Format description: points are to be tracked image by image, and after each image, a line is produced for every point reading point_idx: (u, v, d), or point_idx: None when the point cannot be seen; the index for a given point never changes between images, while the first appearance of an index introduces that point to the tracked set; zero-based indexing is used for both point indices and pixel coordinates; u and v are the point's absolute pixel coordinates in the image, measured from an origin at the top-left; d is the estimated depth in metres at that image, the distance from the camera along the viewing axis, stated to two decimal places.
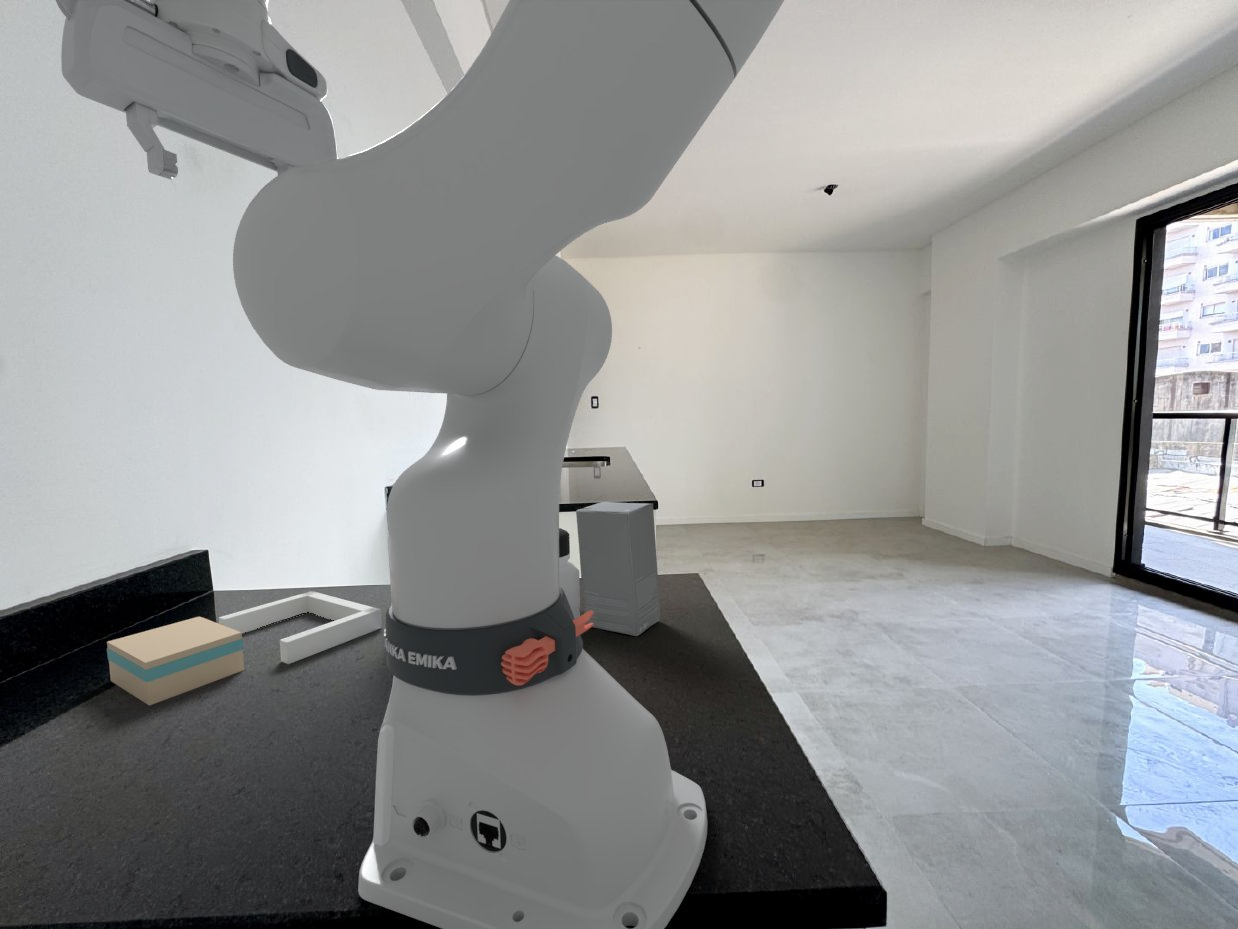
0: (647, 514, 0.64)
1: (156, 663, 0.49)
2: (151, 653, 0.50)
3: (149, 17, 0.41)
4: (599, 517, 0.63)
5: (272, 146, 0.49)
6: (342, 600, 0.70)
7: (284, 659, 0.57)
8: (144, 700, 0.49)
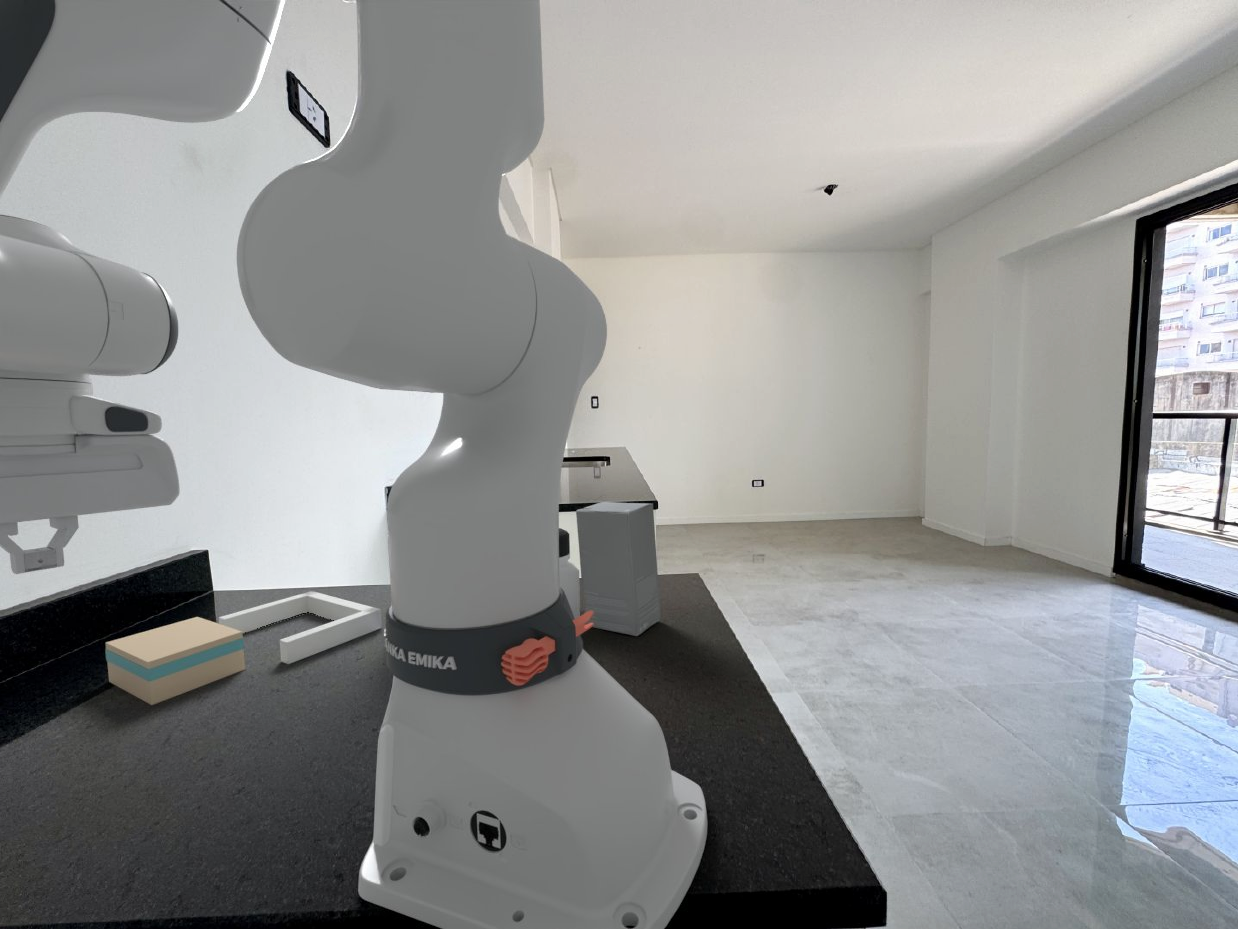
0: (647, 514, 0.64)
1: (158, 662, 0.49)
2: (152, 653, 0.50)
3: None
4: (599, 517, 0.63)
5: (92, 506, 0.47)
6: (342, 600, 0.70)
7: (284, 659, 0.57)
8: (146, 700, 0.49)
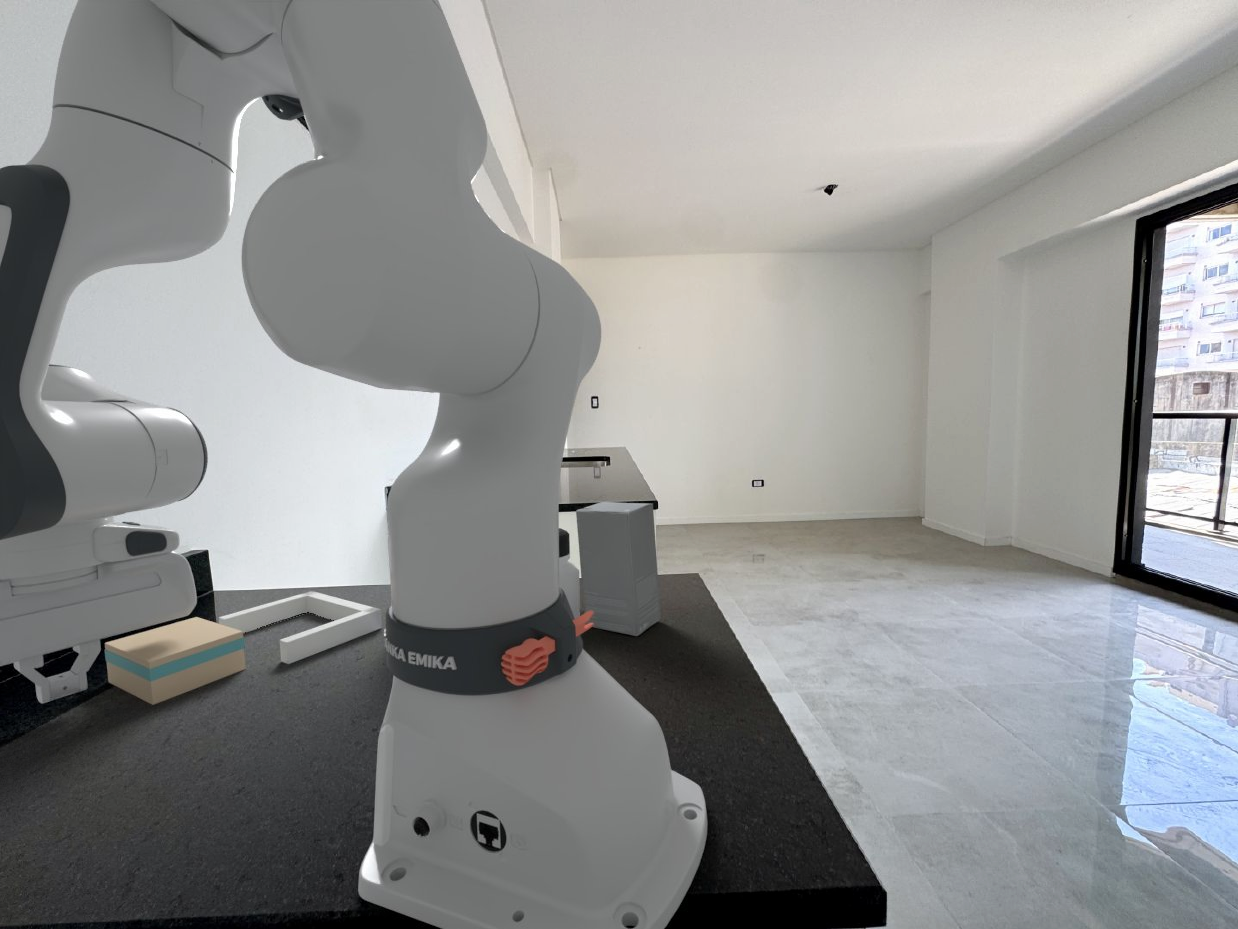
0: (647, 514, 0.64)
1: (159, 662, 0.49)
2: (153, 653, 0.50)
3: None
4: (599, 517, 0.63)
5: (113, 629, 0.49)
6: (342, 600, 0.70)
7: (284, 659, 0.57)
8: (147, 699, 0.49)
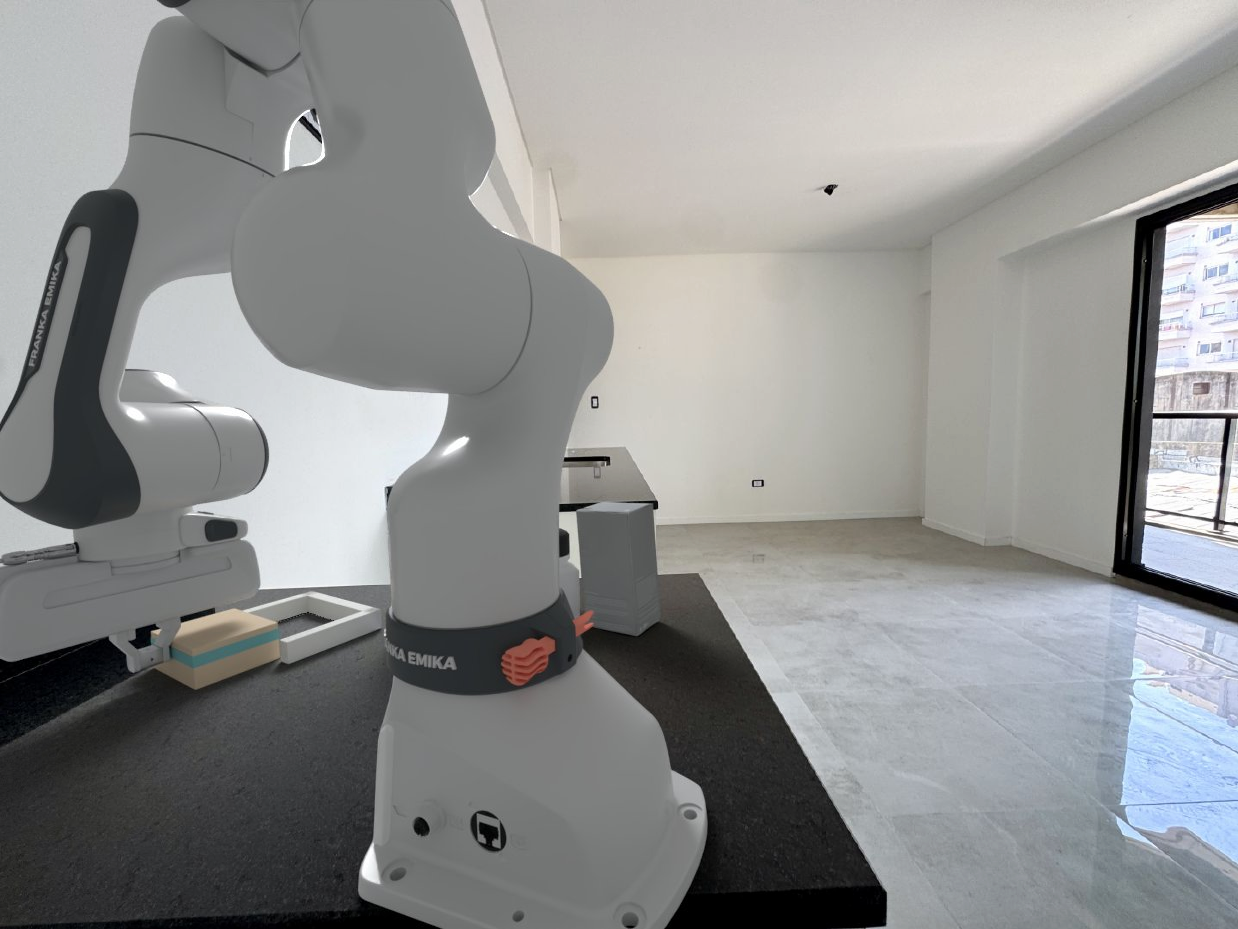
0: (647, 514, 0.64)
1: (201, 650, 0.52)
2: (195, 641, 0.53)
3: (69, 571, 0.46)
4: (599, 517, 0.63)
5: (192, 607, 0.54)
6: (342, 600, 0.70)
7: (284, 659, 0.57)
8: (190, 685, 0.52)
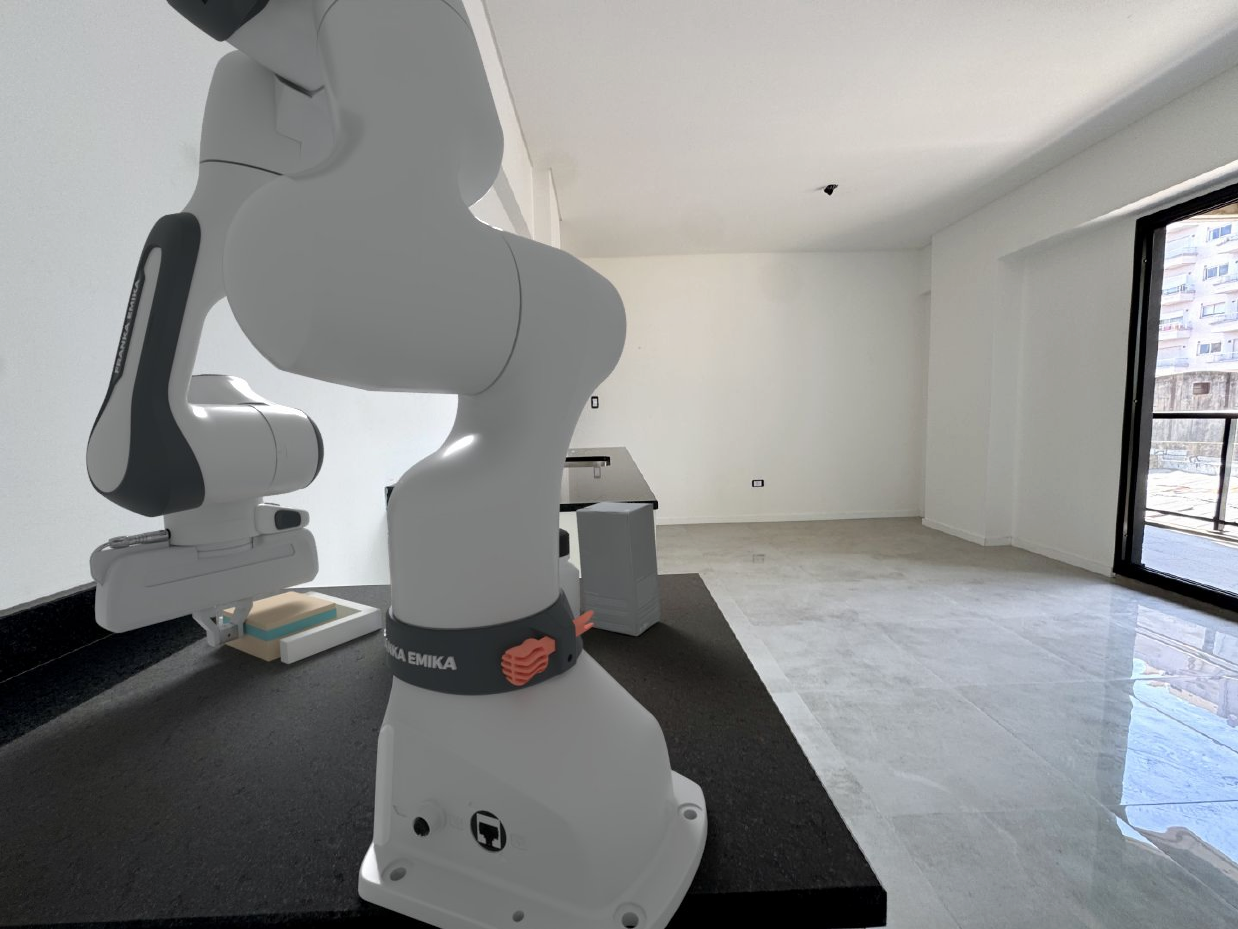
0: (647, 514, 0.64)
1: (273, 626, 0.58)
2: (266, 618, 0.59)
3: (164, 554, 0.52)
4: (599, 517, 0.63)
5: (263, 589, 0.60)
6: (342, 600, 0.70)
7: (284, 659, 0.57)
8: (263, 657, 0.58)
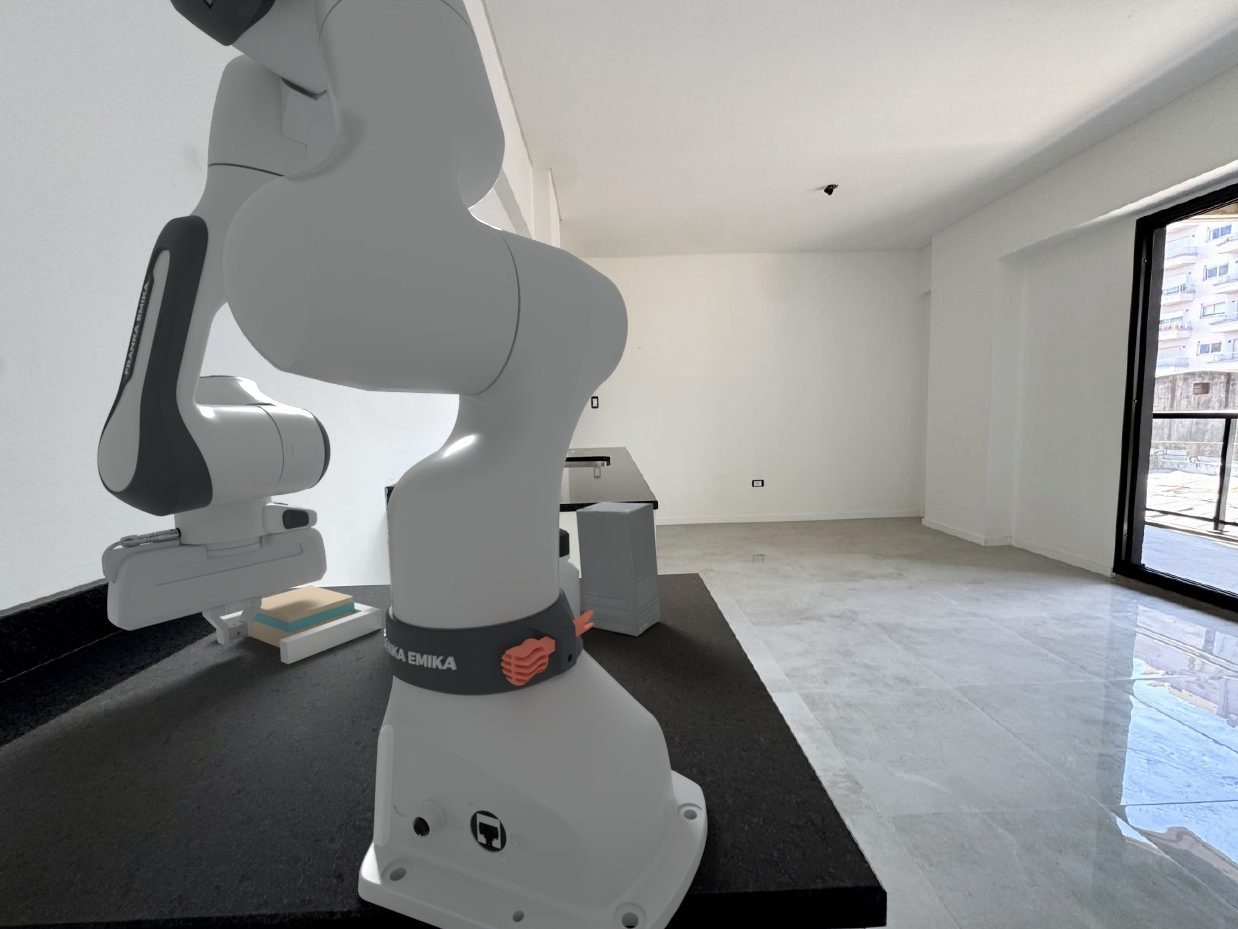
0: (647, 514, 0.64)
1: (295, 618, 0.60)
2: (288, 610, 0.62)
3: (174, 553, 0.53)
4: (599, 517, 0.63)
5: (271, 588, 0.61)
6: None
7: (284, 659, 0.57)
8: None
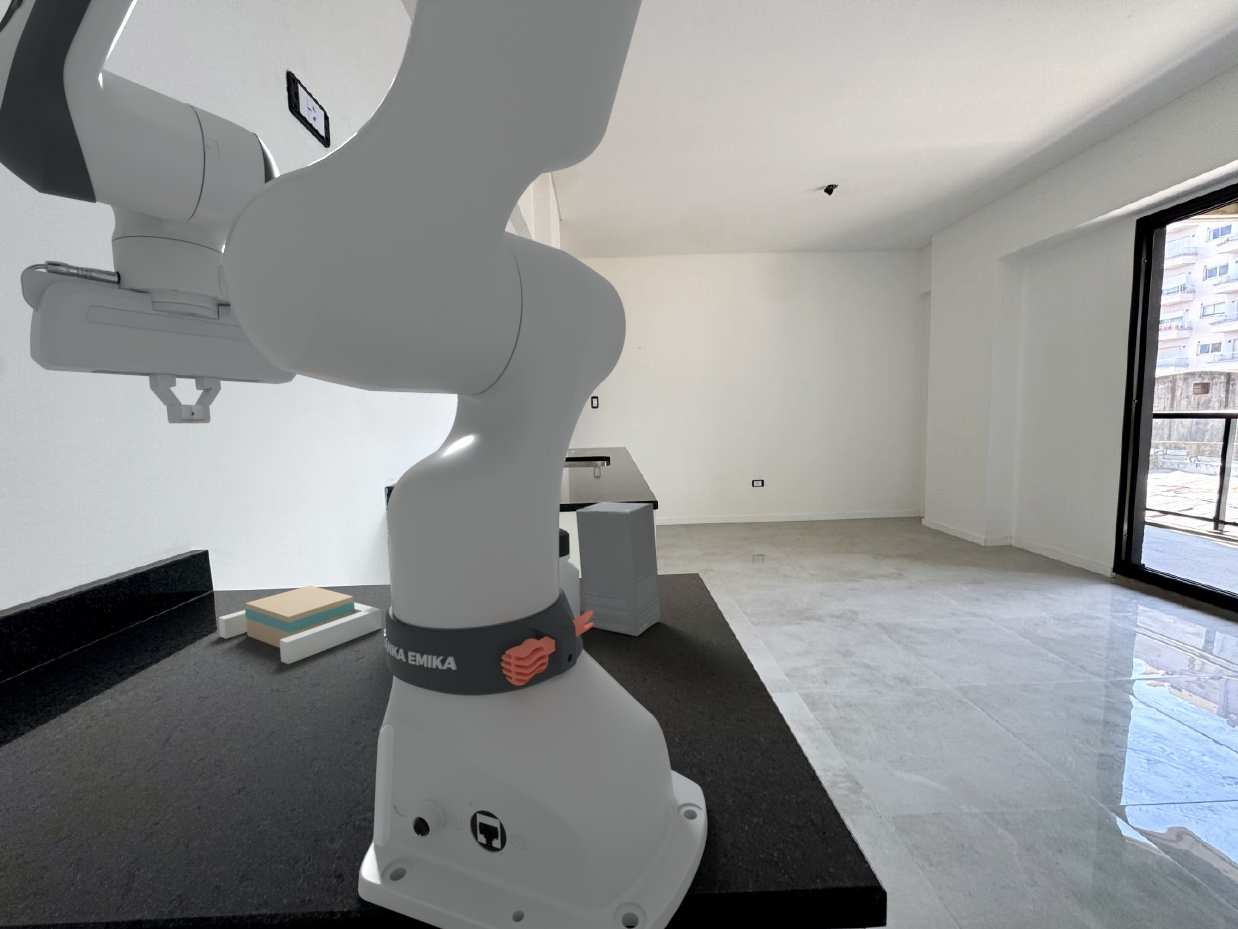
0: (647, 514, 0.64)
1: (295, 618, 0.60)
2: (288, 610, 0.62)
3: (111, 291, 0.45)
4: (599, 517, 0.63)
5: (232, 370, 0.53)
6: None
7: (284, 659, 0.57)
8: None
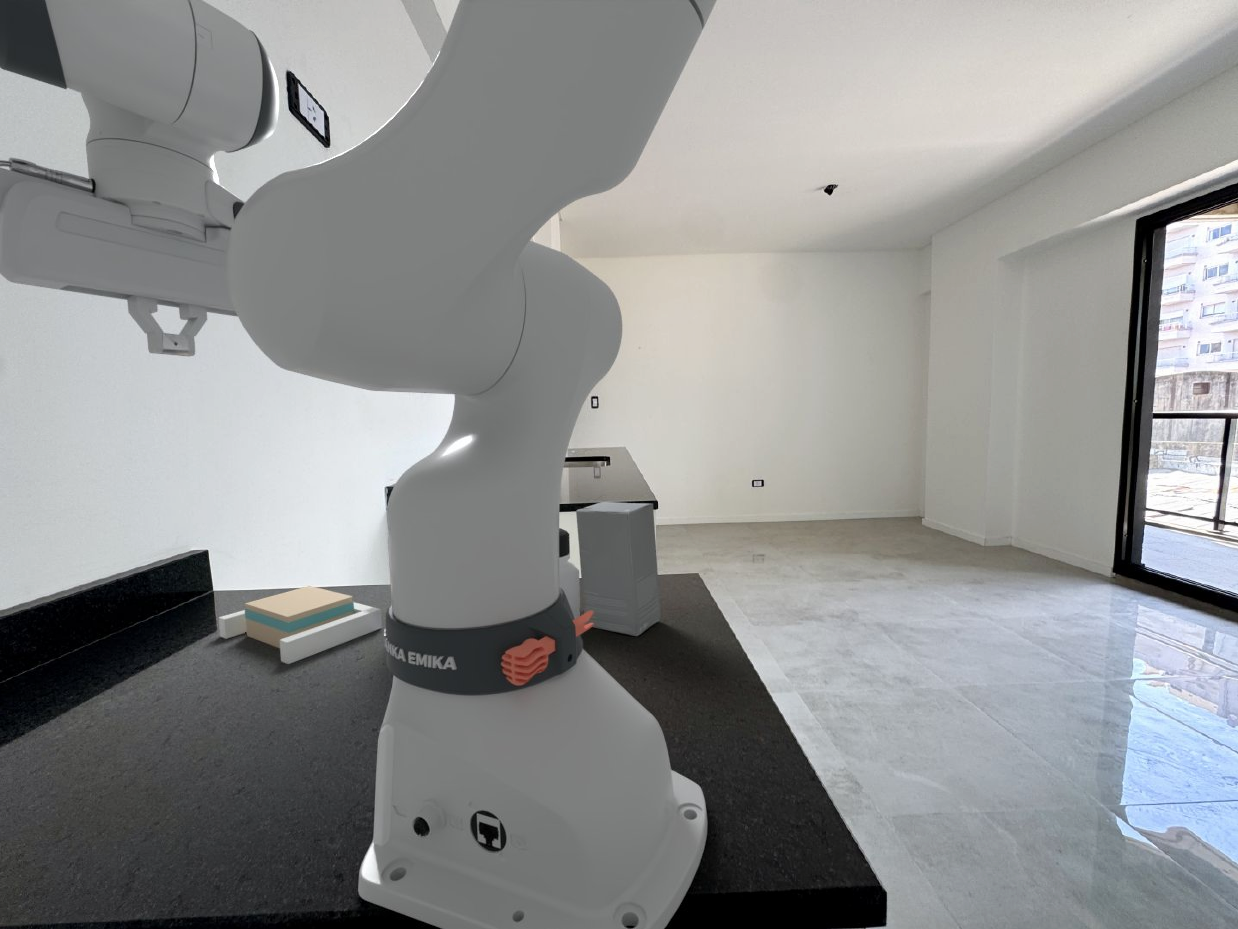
0: (648, 514, 0.64)
1: (294, 618, 0.60)
2: (287, 610, 0.62)
3: (84, 198, 0.41)
4: (599, 517, 0.63)
5: (219, 299, 0.49)
6: None
7: (284, 659, 0.57)
8: None
